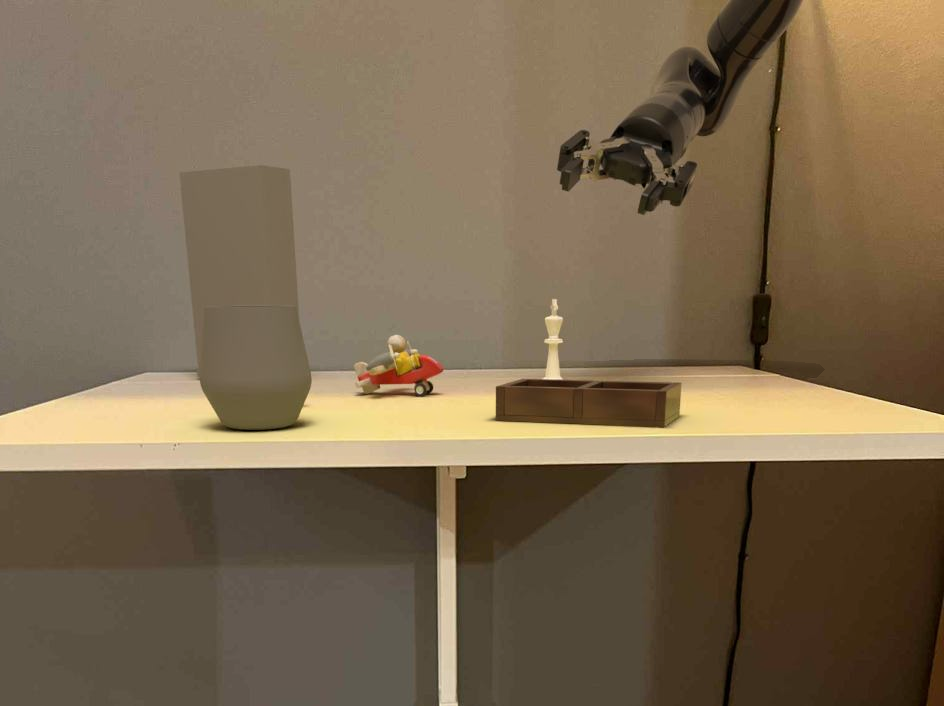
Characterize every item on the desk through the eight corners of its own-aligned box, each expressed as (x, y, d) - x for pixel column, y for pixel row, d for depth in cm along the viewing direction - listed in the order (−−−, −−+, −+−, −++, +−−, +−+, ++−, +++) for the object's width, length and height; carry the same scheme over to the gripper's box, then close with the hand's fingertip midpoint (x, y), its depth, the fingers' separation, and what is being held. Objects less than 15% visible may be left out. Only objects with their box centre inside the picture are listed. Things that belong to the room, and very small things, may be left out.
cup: (328, 420, 89) (322, 304, 86) (291, 435, 81) (282, 307, 77) (231, 418, 91) (222, 305, 88) (185, 432, 83) (172, 307, 79)
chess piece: (535, 396, 107) (537, 299, 104) (526, 392, 112) (527, 299, 108) (579, 395, 108) (582, 299, 104) (568, 391, 112) (570, 298, 109)
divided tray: (679, 415, 91) (681, 382, 90) (664, 427, 84) (666, 391, 82) (522, 410, 96) (522, 378, 95) (495, 420, 89) (495, 386, 88)
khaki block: (308, 379, 129) (295, 169, 120) (276, 383, 124) (261, 165, 116) (230, 375, 136) (213, 176, 127) (197, 379, 131) (177, 172, 122)
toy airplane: (448, 395, 109) (447, 334, 107) (374, 400, 105) (371, 337, 103) (410, 388, 116) (408, 331, 114) (339, 393, 112) (336, 334, 110)
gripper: (601, 86, 110) (546, 137, 100) (722, 120, 107) (678, 176, 97) (589, 154, 116) (535, 209, 106) (703, 188, 113) (659, 248, 103)
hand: (603, 193), depth 102 cm, fingers open, 8 cm apart
